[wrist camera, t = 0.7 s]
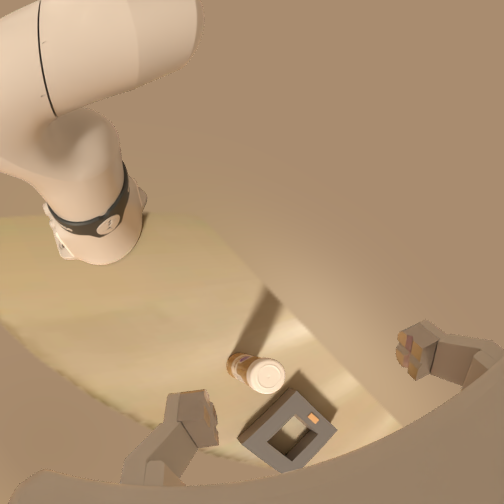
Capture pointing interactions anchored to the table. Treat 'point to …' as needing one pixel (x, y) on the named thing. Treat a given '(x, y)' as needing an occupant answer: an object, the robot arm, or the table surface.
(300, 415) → the square frame
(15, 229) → the table surface
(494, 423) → the robot arm
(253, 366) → the sprinkles bottle
